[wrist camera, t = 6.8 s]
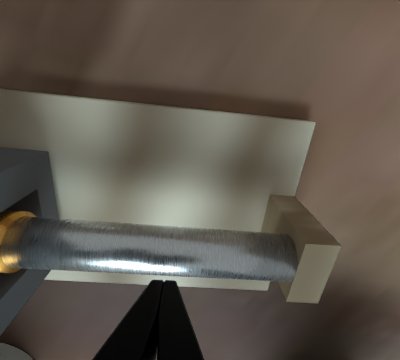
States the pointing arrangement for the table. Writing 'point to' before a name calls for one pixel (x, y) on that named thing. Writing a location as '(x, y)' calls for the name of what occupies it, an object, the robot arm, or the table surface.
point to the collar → (31, 202)
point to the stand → (174, 176)
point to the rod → (143, 249)
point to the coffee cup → (12, 353)
